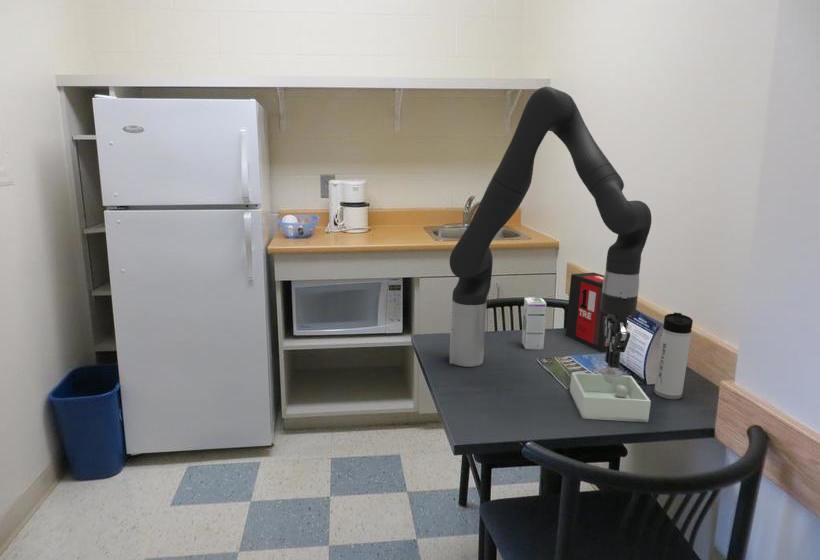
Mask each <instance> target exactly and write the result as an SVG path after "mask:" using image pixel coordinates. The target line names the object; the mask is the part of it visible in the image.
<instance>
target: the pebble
mask: <svg viewBox="0 0 820 560" xmlns="http://www.w3.org/2000/svg"><path fill="white" fill-rule="evenodd" d="M615 394H616V395H617V396H618V397H621V398H623V397H625V396H627V394H628V389H627V387H626V386H624V385H618V386H617V387H616V388H615Z"/></svg>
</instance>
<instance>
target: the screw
mask: <svg viewBox="0 0 820 560" xmlns="http://www.w3.org/2000/svg"><path fill="white" fill-rule="evenodd" d="M612 338H616V337H612ZM617 347H618V346H617ZM608 360H609V359H608ZM599 374H601V375H603V376H604V380H605V382H608V383H616V382H617V378H620V377H622V375H623V373H622V372H621V370H620V369H619V370H618V369H617V368H611V367H609V366H608V365H607V367H604V368H602V369H600V371H599Z"/></svg>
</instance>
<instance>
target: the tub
mask: <svg viewBox="0 0 820 560" xmlns="http://www.w3.org/2000/svg"><path fill="white" fill-rule="evenodd" d="M618 385H624V386H626V387H627V389H628V394H627V396H625V397H623V398H621V397H618V396H617V395H616V394H615V388H616V387H617V386H618ZM569 394H570V395H571V397H572V399H573V402H574V404H575V406H576V409H577V410H578V412H579V413H580V417H581V418H582V419H583V420H584V419H587V420H603V421H604V420H605V421H619V422H635V423H637V422H638V423H649V417H650V410H651V403H652V401H651V400H650V398H649V396H648V395H647V394H646V393H645V391H644V390H643V389H642V388H641V387H640V385H639V384H638V382H637V381H636V380H635V379H634V377H633V376H632V375H623V374H622V377H620V378H617V382H616V383H608V382H605V380H604V376H603V375H601V374H600V373H584V372H571V377H570V385H569Z"/></svg>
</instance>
